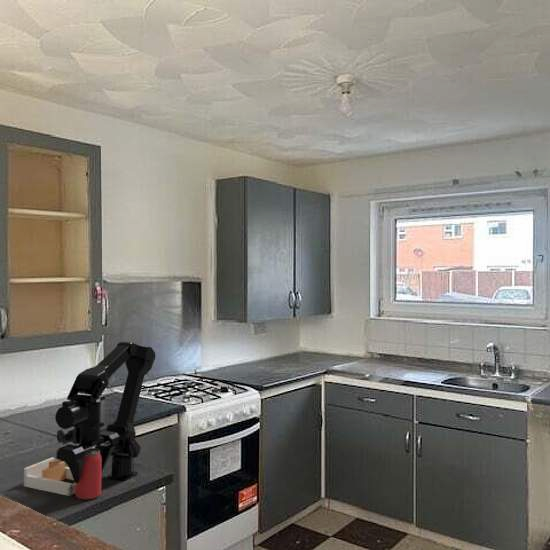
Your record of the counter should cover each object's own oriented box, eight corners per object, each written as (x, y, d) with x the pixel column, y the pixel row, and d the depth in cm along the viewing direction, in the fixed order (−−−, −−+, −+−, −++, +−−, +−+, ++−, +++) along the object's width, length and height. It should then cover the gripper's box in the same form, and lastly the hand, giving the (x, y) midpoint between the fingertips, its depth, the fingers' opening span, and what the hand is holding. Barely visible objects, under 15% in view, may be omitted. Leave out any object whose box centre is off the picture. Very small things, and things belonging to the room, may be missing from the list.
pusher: (62, 478, 165) (62, 456, 165) (65, 478, 165) (65, 456, 165) (41, 487, 158) (42, 464, 158) (44, 488, 157) (44, 464, 157)
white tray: (51, 474, 168) (52, 457, 168) (95, 482, 162) (96, 465, 162) (23, 486, 158) (24, 468, 158) (69, 495, 152) (69, 477, 152)
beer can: (104, 491, 156) (104, 447, 156) (97, 500, 149) (98, 455, 149) (79, 491, 156) (80, 447, 156) (72, 500, 149) (72, 455, 149)
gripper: (89, 408, 164) (88, 462, 164) (40, 424, 147) (39, 484, 147) (120, 413, 160) (120, 468, 160) (74, 429, 143) (73, 491, 143)
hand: (88, 477), depth 153 cm, fingers open, 9 cm apart
